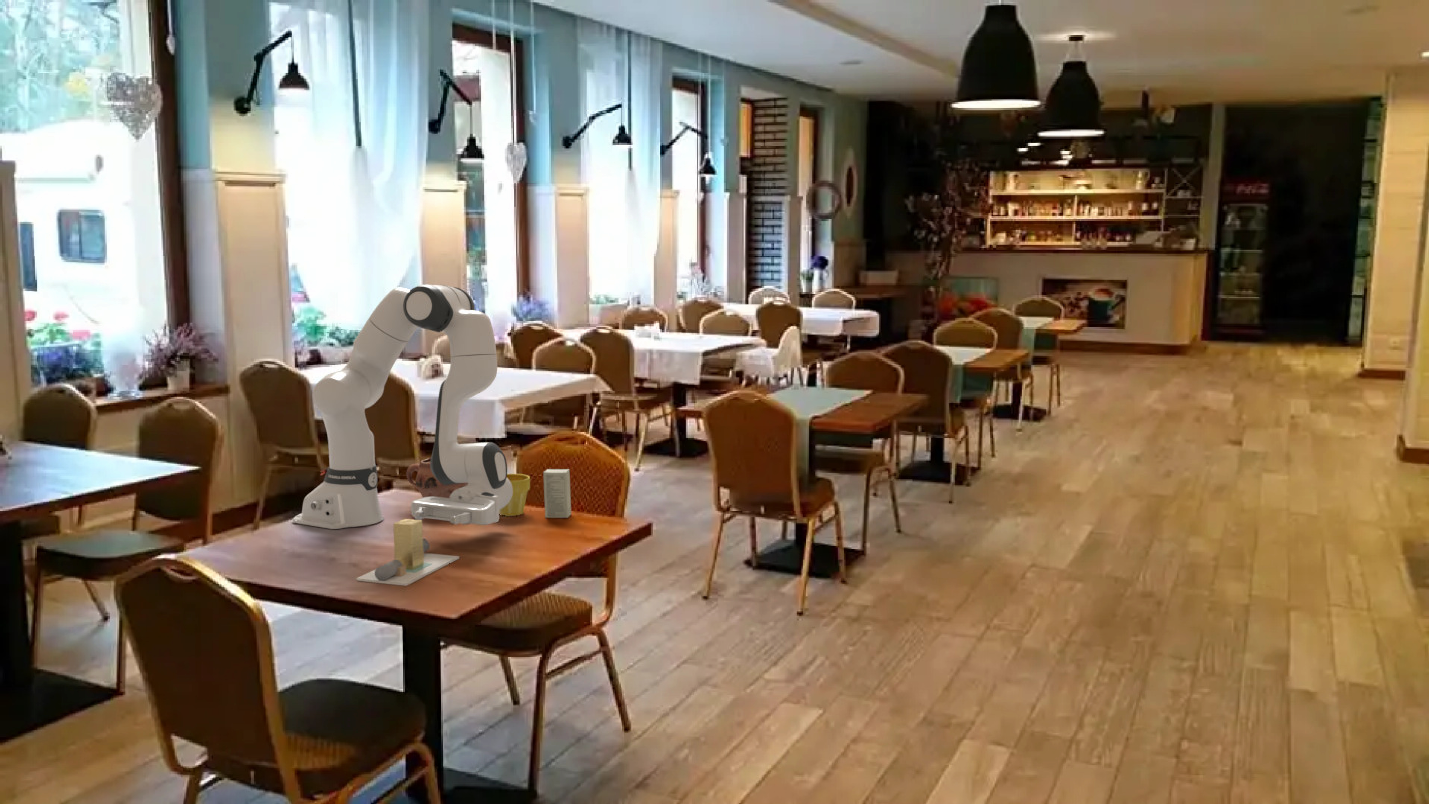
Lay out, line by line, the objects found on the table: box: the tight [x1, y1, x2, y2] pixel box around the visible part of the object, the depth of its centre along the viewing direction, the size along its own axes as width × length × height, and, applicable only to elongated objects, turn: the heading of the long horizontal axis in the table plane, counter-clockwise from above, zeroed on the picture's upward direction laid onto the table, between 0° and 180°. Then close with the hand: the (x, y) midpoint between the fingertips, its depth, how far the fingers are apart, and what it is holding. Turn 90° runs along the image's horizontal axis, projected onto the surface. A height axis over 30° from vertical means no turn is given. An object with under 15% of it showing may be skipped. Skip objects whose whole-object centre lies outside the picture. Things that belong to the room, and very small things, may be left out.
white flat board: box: [356, 538, 460, 586], centre depth 258 cm, size 23×12×4 cm, turn 163°
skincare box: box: [542, 468, 572, 519], centre depth 306 cm, size 6×4×12 cm
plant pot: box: [499, 473, 531, 517], centre depth 309 cm, size 10×10×10 cm
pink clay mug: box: [405, 457, 468, 498], centre depth 313 cm, size 20×12×14 cm, turn 75°
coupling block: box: [393, 518, 424, 570], centre depth 257 cm, size 4×4×10 cm
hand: (434, 518), depth 268 cm, fingers open, 8 cm apart
